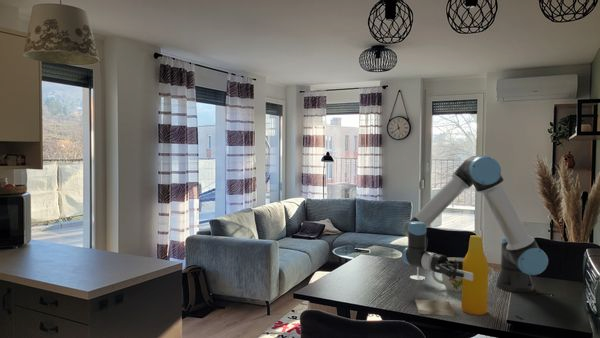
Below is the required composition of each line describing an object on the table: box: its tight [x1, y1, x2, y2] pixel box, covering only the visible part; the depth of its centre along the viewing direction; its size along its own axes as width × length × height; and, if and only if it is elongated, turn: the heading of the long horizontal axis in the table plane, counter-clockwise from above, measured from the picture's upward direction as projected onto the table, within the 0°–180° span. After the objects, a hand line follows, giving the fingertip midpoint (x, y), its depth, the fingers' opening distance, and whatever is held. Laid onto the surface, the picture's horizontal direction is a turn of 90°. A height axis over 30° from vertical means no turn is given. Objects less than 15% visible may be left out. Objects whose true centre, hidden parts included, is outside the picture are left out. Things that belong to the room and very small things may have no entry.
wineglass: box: [409, 236, 429, 281], centre depth 211 cm, size 8×9×20 cm
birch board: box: [415, 298, 456, 317], centre depth 167 cm, size 13×12×2 cm
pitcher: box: [431, 256, 465, 292], centre depth 193 cm, size 11×18×14 cm, turn 86°
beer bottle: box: [461, 234, 489, 316], centre depth 166 cm, size 9×9×29 cm
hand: (482, 274), depth 163 cm, fingers open, 13 cm apart
